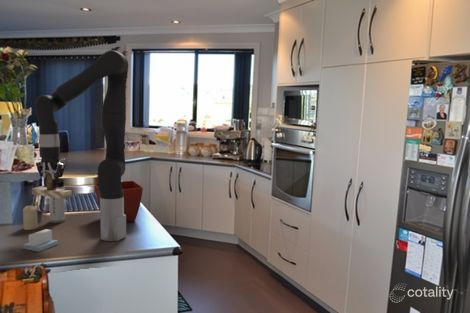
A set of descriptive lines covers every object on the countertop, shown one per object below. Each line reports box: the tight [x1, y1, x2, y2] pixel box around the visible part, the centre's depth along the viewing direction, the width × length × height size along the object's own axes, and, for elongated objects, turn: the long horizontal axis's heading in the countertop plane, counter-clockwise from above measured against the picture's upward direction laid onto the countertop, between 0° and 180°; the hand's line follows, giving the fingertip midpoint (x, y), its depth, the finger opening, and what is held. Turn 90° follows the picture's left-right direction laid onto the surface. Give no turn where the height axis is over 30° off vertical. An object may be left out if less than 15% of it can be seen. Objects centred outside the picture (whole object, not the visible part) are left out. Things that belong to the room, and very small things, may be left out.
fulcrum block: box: [22, 228, 59, 253], centre depth 151 cm, size 8×9×6 cm
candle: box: [22, 204, 39, 231], centre depth 173 cm, size 6×6×10 cm
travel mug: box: [49, 178, 66, 224], centre depth 183 cm, size 6×7×20 cm
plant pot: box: [93, 180, 144, 223], centre depth 189 cm, size 19×19×17 cm
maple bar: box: [31, 173, 73, 200], centre depth 161 cm, size 18×4×9 cm, turn 65°
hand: (51, 187), depth 161 cm, fingers closed on maple bar, 3 cm apart
